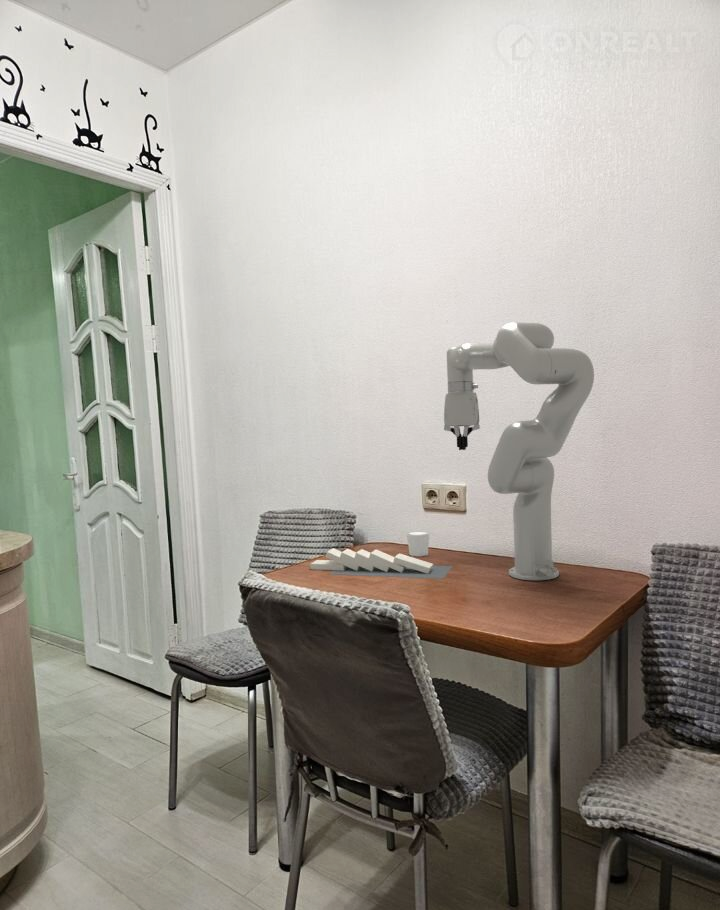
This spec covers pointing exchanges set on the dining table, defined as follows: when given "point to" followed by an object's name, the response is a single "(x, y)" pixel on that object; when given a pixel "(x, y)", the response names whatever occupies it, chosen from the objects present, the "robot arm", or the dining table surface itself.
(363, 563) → the domino
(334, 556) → the domino
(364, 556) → the domino
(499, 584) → the dining table surface
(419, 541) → the white cup
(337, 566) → the domino
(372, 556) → the domino
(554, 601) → the dining table surface
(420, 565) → the domino
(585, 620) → the dining table surface
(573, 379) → the robot arm
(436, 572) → the mat
